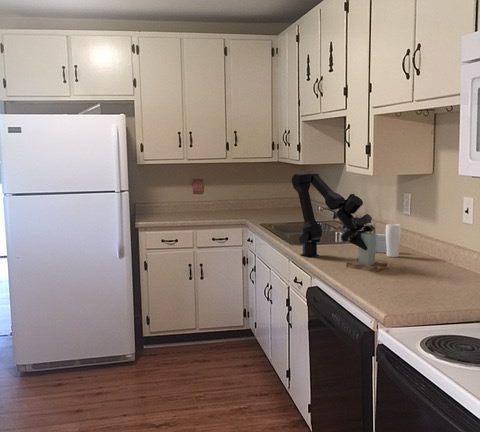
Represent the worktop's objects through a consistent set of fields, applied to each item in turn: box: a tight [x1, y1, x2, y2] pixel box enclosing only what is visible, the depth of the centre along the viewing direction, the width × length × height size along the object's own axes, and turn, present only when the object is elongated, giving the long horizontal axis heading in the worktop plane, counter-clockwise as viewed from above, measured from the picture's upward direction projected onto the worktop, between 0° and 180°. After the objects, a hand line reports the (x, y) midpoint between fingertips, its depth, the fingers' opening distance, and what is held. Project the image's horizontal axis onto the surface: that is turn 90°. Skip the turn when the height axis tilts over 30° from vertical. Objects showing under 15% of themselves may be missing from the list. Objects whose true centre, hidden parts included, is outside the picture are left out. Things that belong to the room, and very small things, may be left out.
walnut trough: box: [345, 258, 388, 273], centre depth 232 cm, size 14×10×2 cm
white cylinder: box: [385, 223, 402, 258], centre depth 253 cm, size 7×7×15 cm
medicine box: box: [375, 233, 387, 254], centre depth 264 cm, size 8×4×9 cm, turn 64°
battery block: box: [357, 232, 377, 265], centre depth 231 cm, size 5×5×14 cm
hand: (369, 248), depth 230 cm, fingers closed on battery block, 5 cm apart
